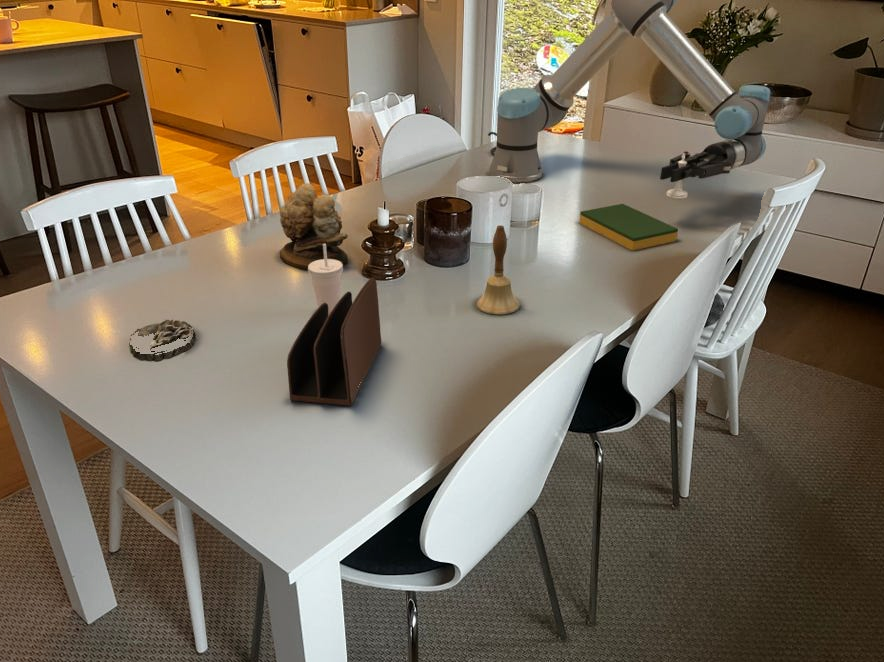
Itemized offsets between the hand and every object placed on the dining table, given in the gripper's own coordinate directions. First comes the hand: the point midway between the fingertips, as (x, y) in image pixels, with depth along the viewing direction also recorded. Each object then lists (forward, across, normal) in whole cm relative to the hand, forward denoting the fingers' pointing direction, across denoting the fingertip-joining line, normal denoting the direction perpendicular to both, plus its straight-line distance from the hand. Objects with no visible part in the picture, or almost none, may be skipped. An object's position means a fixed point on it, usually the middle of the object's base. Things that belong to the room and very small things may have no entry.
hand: (667, 175), depth 173 cm
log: (+113, -24, +14) cm, 116 cm away
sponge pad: (+7, -4, +13) cm, 16 cm away
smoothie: (+84, -15, +14) cm, 87 cm away
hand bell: (+58, +4, +14) cm, 60 cm away
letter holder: (+95, +4, +14) cm, 96 cm away
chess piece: (-6, 0, +6) cm, 8 cm away
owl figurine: (+72, -39, +14) cm, 83 cm away
